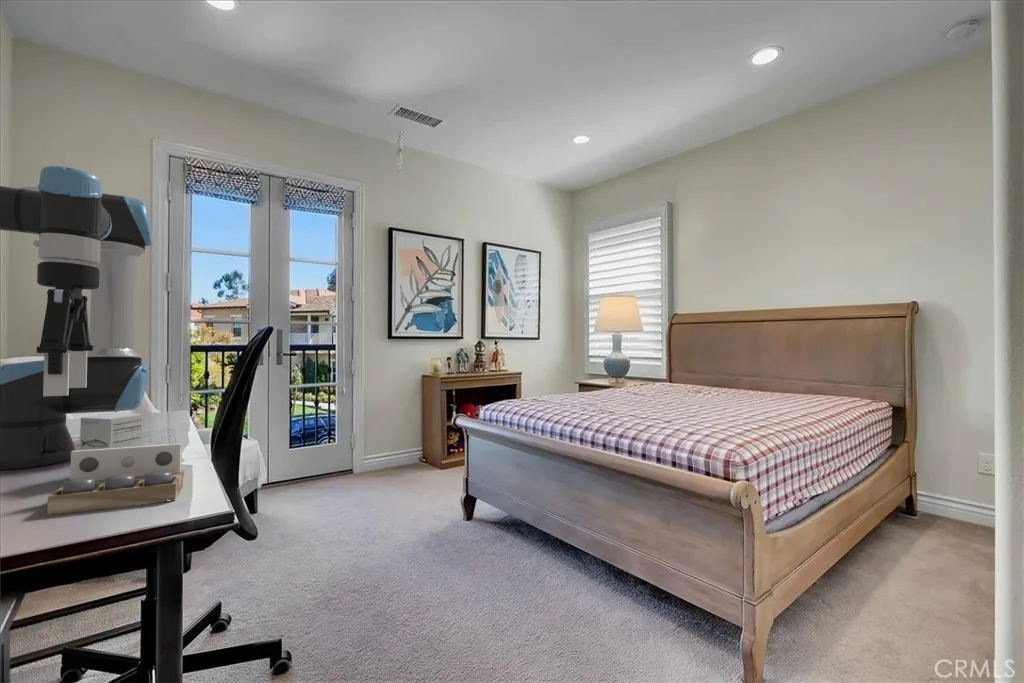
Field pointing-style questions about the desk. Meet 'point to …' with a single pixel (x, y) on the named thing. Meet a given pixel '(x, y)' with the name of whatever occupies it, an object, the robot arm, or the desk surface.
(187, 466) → the desk surface
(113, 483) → the button
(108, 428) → the supplement box
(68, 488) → the button
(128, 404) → the robot arm
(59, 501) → the button board
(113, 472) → the card
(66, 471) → the desk surface
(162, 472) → the button
